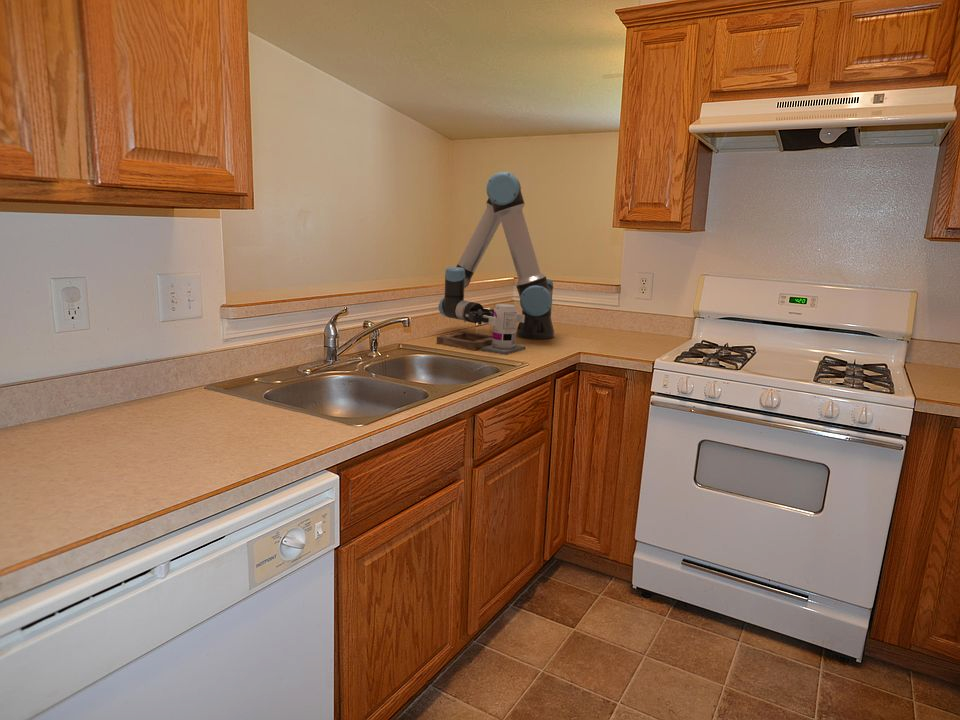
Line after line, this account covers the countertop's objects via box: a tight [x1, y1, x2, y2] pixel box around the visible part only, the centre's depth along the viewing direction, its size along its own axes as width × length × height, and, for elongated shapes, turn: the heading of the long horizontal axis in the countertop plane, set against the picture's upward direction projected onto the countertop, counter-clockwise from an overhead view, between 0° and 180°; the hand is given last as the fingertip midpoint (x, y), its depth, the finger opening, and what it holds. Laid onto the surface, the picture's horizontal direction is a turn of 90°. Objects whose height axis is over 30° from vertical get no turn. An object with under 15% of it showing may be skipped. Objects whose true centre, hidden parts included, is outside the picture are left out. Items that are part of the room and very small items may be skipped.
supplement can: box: [491, 303, 518, 349], centre depth 223 cm, size 8×8×15 cm
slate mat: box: [480, 344, 526, 356], centre depth 225 cm, size 14×10×1 cm
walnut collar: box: [436, 330, 492, 351], centre depth 233 cm, size 17×17×2 cm
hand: (510, 320), depth 221 cm, fingers open, 13 cm apart
